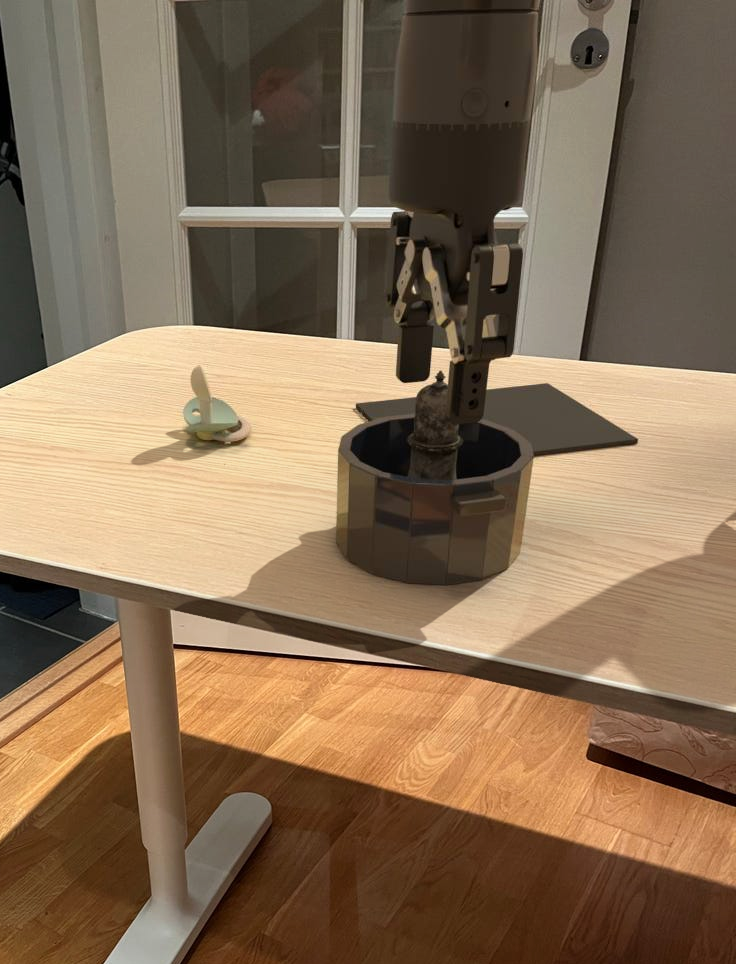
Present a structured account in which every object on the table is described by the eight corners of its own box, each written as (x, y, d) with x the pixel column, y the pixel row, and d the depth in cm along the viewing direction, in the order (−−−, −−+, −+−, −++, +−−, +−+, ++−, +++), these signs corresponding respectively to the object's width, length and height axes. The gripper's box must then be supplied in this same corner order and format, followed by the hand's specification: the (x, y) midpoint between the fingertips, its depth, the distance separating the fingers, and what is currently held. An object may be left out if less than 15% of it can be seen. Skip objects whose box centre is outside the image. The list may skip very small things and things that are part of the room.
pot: (464, 486, 73) (473, 399, 69) (563, 580, 60) (581, 480, 57) (310, 506, 71) (310, 417, 67) (379, 607, 58) (384, 504, 54)
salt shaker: (388, 519, 69) (397, 355, 62) (470, 524, 68) (488, 358, 61) (381, 556, 64) (390, 383, 57) (468, 562, 63) (488, 387, 56)
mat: (547, 386, 93) (547, 382, 93) (637, 443, 80) (638, 438, 80) (355, 407, 89) (355, 403, 89) (417, 470, 76) (417, 465, 76)
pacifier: (245, 419, 88) (182, 421, 87) (245, 352, 84) (179, 354, 84) (256, 447, 82) (187, 450, 81) (256, 376, 78) (185, 379, 78)
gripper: (590, 118, 46) (542, 432, 55) (470, 103, 58) (447, 364, 67) (448, 124, 45) (422, 445, 54) (355, 107, 57) (346, 373, 65)
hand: (436, 400), depth 60 cm, fingers open, 8 cm apart
